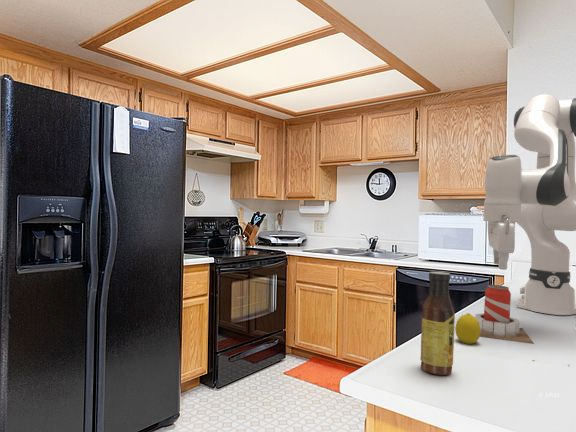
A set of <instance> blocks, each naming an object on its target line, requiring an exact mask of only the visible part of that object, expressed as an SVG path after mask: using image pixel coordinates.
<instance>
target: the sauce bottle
mask: <svg viewBox="0 0 576 432" xmlns="http://www.w3.org/2000/svg"><path fill="white" fill-rule="evenodd" d="M428 280H429V289H428V293H429V295H428V296H427V297H426V299H425V300H424V302H423V304H422V317H421V335H420V336H421V337H420V339H421V340H420V361H421V362H420V368H421V369H422V371H424V372H425V373H429V374H432V375H437V376H438V375H440V376H445V375H450V374H451V373H452V371H453V364H454V347H455V346H454V343H455V320H456V319H455V318H456V317H455V314H456V313H455V312H456V311H455V309H454V307H453V303H452V300H451V297H450V291H449V290H450V282H451V273H449V272H443V271H429V273H428Z"/></svg>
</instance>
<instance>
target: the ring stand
mask: <svg viewBox="0 0 576 432" xmlns="http://www.w3.org/2000/svg"><path fill="white" fill-rule="evenodd" d="M479 338H486V339H493V340H501V341H502V340H503V341H510V342H516V343H524V344H533V345H535V343H534V341H533V340H532V338H531V337H530V336H529V334H528V333H527V332H526V331H525V329H524V328H523V327H520V328H519V336H517V337H497V336H491V335H487V334H484V333H481V332H480V337H479Z"/></svg>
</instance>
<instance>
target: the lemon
mask: <svg viewBox="0 0 576 432" xmlns="http://www.w3.org/2000/svg"><path fill="white" fill-rule="evenodd" d="M454 331H455V335H456V337H457V339H458V340H459V341H460V342H461V343H463V344H467V345H469V344H470V345H472V344H475V343H476V342H478V340H479V339H480V338H481V337H480V325H479V322H478V320H477V319H476V318H475V316H473V315H472V314H471V313H466V314H463V315H461V316H459V318H457V321H456V323H455V327H454Z"/></svg>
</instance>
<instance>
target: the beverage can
mask: <svg viewBox="0 0 576 432" xmlns="http://www.w3.org/2000/svg"><path fill="white" fill-rule="evenodd" d="M511 295H512V293H511V292H510V289H509V287H508V286H504V285H499V284H489V285H487V288H486V290H485V291H484V306H483V307H484V309H483V311H484V312H483V313H484V319H486V320H490V321H495V322H503V323H509V321H510V317H511V302H512V301H511V299H512V298H511V297H512V296H511Z"/></svg>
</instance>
